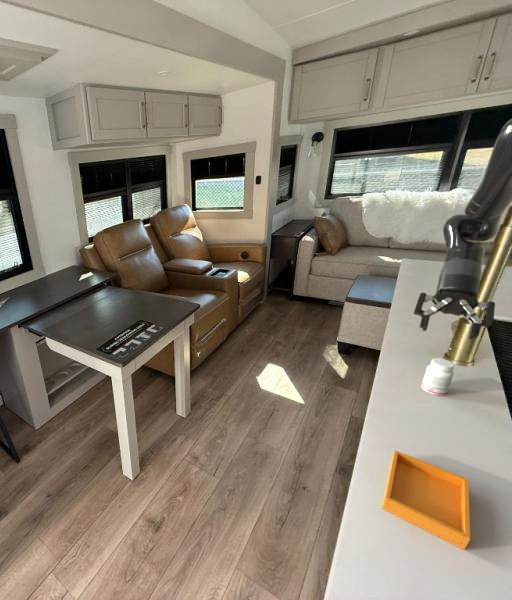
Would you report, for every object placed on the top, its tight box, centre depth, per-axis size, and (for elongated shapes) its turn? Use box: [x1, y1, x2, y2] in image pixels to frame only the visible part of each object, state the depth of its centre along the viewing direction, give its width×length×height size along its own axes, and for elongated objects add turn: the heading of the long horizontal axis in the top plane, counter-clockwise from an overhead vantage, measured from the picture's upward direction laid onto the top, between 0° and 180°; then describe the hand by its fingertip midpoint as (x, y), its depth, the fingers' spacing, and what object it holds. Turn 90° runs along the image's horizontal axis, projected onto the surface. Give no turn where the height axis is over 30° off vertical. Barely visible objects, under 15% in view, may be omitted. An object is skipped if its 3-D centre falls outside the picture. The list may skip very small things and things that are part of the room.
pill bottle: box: [420, 357, 455, 396], centre depth 80 cm, size 5×5×8 cm
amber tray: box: [381, 450, 471, 551], centre depth 57 cm, size 10×13×3 cm
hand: (447, 334), depth 82 cm, fingers open, 8 cm apart
